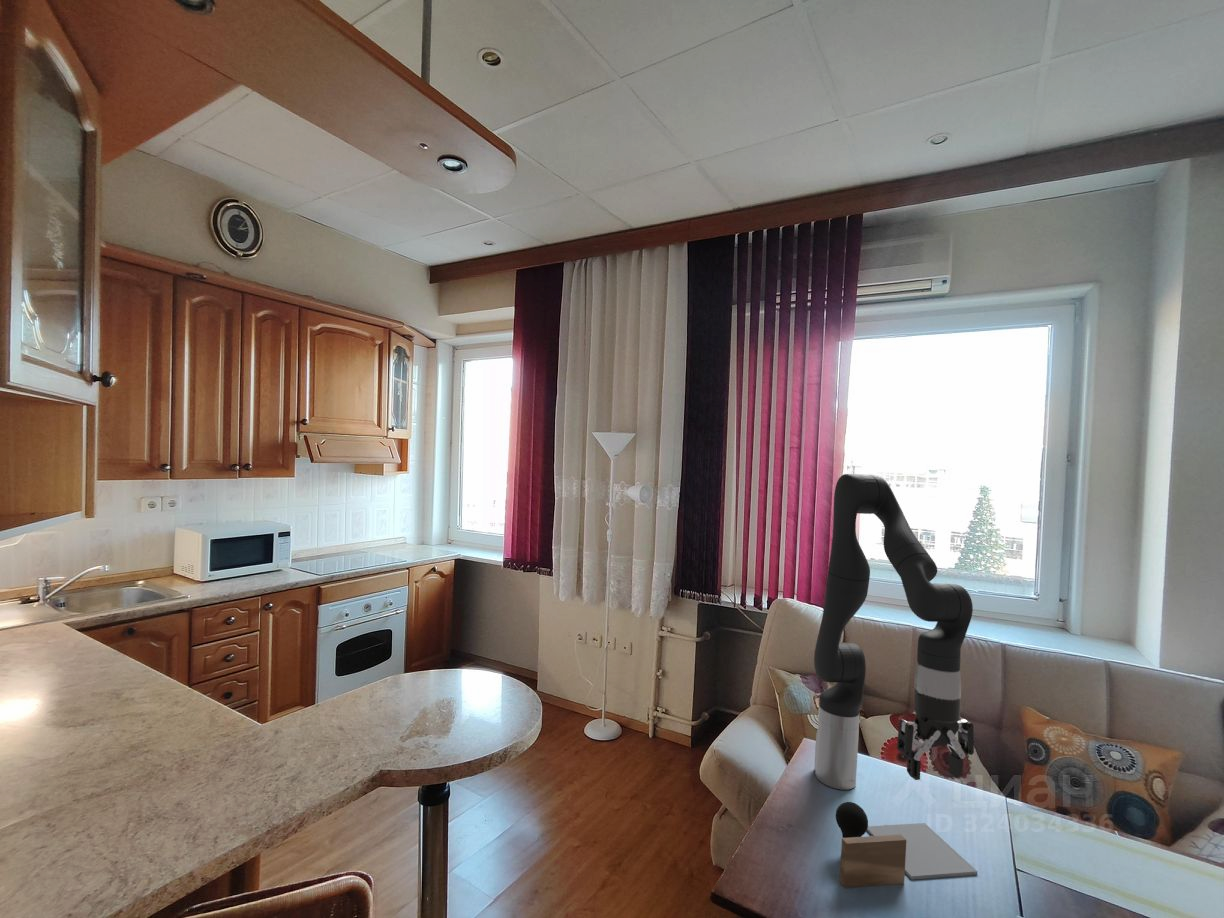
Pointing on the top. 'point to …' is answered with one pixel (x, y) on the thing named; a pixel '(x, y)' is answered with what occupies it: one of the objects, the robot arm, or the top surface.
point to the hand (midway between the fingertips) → (934, 776)
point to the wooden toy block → (872, 860)
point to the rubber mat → (926, 852)
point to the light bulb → (851, 820)
